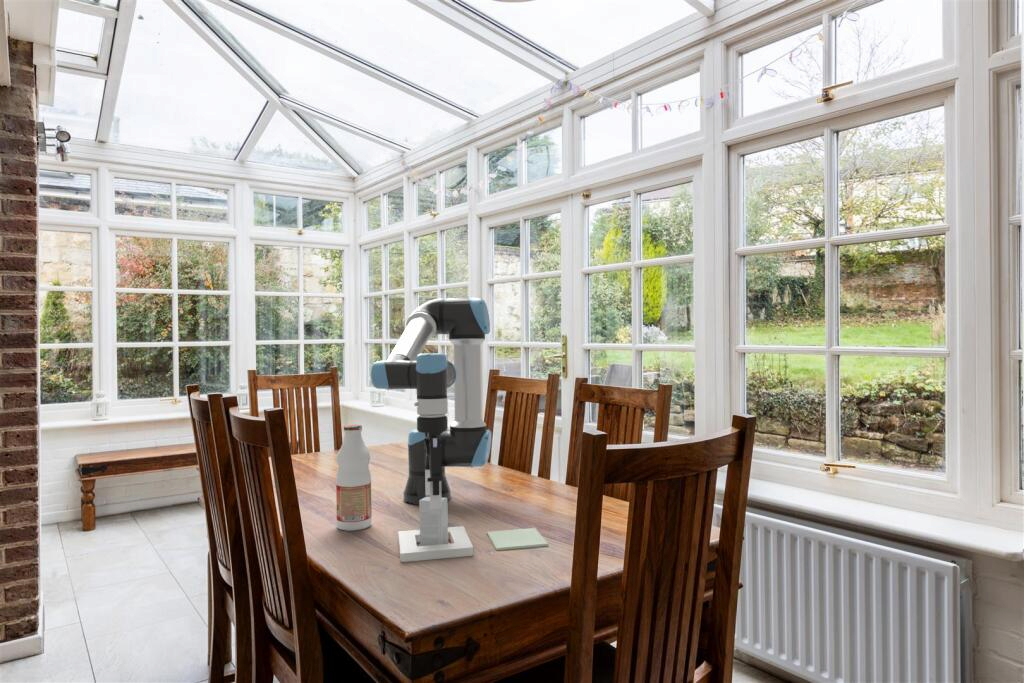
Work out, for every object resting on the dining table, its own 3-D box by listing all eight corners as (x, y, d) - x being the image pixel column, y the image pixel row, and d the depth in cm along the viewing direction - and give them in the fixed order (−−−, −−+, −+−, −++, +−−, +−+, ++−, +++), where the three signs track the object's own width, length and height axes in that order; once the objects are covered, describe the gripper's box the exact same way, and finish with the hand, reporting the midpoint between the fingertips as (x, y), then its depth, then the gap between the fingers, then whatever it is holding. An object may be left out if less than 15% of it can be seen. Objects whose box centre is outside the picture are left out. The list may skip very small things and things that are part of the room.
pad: (487, 534, 162) (487, 531, 162) (535, 530, 164) (535, 527, 164) (496, 550, 149) (496, 548, 149) (548, 545, 152) (548, 543, 152)
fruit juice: (352, 533, 164) (350, 428, 164) (329, 527, 169) (328, 426, 169) (378, 524, 171) (377, 424, 171) (356, 519, 177) (354, 422, 177)
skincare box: (449, 545, 153) (448, 497, 153) (441, 551, 149) (440, 501, 149) (427, 543, 155) (426, 495, 155) (419, 548, 151) (418, 500, 151)
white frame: (398, 539, 159) (398, 531, 159) (463, 533, 162) (463, 526, 162) (400, 562, 142) (400, 553, 142) (473, 555, 146) (473, 547, 146)
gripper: (414, 411, 163) (414, 490, 163) (420, 421, 139) (421, 515, 139) (442, 410, 165) (443, 489, 165) (453, 420, 141) (454, 513, 140)
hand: (433, 501), depth 152 cm, fingers open, 13 cm apart
